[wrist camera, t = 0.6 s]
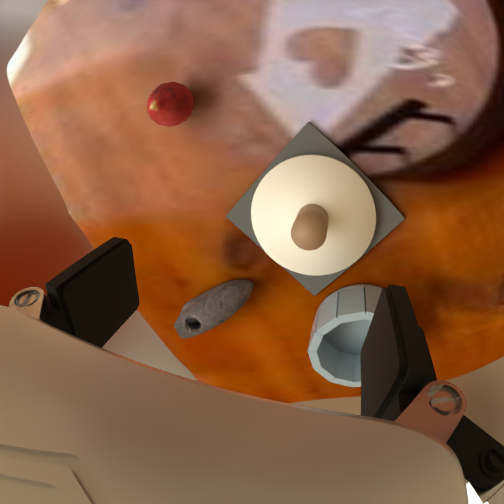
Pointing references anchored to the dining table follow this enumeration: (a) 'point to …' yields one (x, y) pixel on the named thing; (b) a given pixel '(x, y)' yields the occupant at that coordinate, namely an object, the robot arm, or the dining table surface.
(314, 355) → the bowl
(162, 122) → the onion
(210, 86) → the dining table surface
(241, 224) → the mat
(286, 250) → the lid
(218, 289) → the perforated stone tool
